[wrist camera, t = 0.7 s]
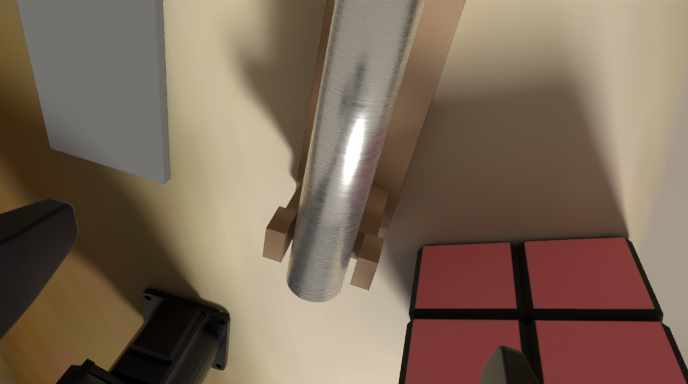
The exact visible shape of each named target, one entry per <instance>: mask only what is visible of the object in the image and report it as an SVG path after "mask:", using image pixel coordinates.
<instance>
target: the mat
mask: <svg viewBox="0 0 688 384" xmlns="http://www.w3.org/2000/svg"><path fill="white" fill-rule="evenodd" d="M17 3H18V8H19V12H20V16H21V21H22V25H23V29H24V34H25V38H26V43H27V47H28V51H29V56H30V60H31V65H32V69H33V73H34V78H35V82H36V87H37V91H38V95H39V100H40V104H41V108H42V113H43V117H44V122H45V126H46V130H47V135H48V139H49V144H50V148H51V149H54V150H57V151H60V152H63V153H66V154H70V155H73V156H76V157H79V158H82V159H86V160H89V161H92V162H95V163H98V164H102V165H105V166H108V167H111V168H114V169H118V170H121V171H124V172H127V173H130V174H134V175H137V176H140V177H143V178H146V179H150V180H153V181H156V182H159V183H162V184H165V183H166V182H167V181H168V180H169V179H170V160H169V136H168V113H167V89H166V66H165V42H164V19H163V0H17Z"/></svg>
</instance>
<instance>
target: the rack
mask: <svg viewBox="0 0 688 384" xmlns="http://www.w3.org/2000/svg"><path fill="white" fill-rule="evenodd" d="M465 1H466V0H425V3H424V6H423V10H422V13H421V17H420V20H419V24H418V27H417V30H416V34H415V37H414V41H413V44H412V48H411V51H410V54H409V58H408V61H407V65H406V68H405V72H404V75H403V78H402V82H401V85H400V89H399V92H398V96H397V99H396V103H395V106H394V109H393V113H392V116H391V120H390V123H389V127H388V130H387V133H386V137H385V140H384V144H383V147H382V151H381V154H380V157H379V161H378V164H377V168H376V171H375V175H374V178H373V182H372V185H371V188H370V192H369V195H368V199H367V202H366V206H365V209H364V212H363V216H362V219H361V223H360V226H359V230H358V233H357V236H356V240H355V243H354V247H353V250H352V254H351V257H350V258H354V259H357V263H356V266H355V270H354V273H353V276H352V280H351V283H350V285H354V286H357V287H360V288H363V289H366V290H369V288H370V285H371V282H372V280H373V277H374V274H375V271H376V268H377V265H378V262H379V258H380V254H381V250H382V246H383V242H384V239H383V238H380V237H377V236H378V232H379V228H380V226H381V227H384V228H387V229H388V226H389V223H390V220H391V217H392V214H393V211H394V209H395V206H396V203H397V200H398V197H399V194H400V191H401V188H402V185H403V182H404V179H405V176H406V174H407V171H408V168H409V165H410V162H411V159H412V156H413V153H414V150H415V147H416V144H417V141H418V138H419V136H420V133H421V130H422V127H423V124H424V121H425V118H426V115H427V112H428V109H429V106H430V103H431V101H432V98H433V95H434V92H435V89H436V86H437V83H438V80H439V77H440V74H441V71H442V68H443V66H444V63H445V60H446V57H447V54H448V51H449V48H450V45H451V42H452V39H453V36H454V33H455V31H456V28H457V25H458V22H459V19H460V16H461V13H462V10H463V7H464V4H465ZM334 5H335V0H327V5H326V11H325V17H324V23H323V29H322V35H321V41H320V47H319V53H318V59H317V65H316V71H315V77H314V83H313V89H312V95H311V101H310V107H309V113H308V119H307V125H306V131H305V137H304V143H303V149H302V155H301V161H300V167H299V173H298V179H297V185H296V191H295V193H294V195H293V197H292V199H291V200H290V202H289V204H288V206H287V207H286V208H283V207H280V206H279V207H278V209H277V211H276V213H275V214H274V216H273V218H272V219H271V221H270V223H269V224H268V226H267V228H266V234H265V242H264V250H263V257H266V258H269V259H272V260H275V261H278V262H281V261H282V259H283V257H284V255H285V253H286V251H287V249H288V247H289V245H290V243H291V241H292V239H293V237H294V231H295V226H296V220H297V214H298V209H299V203H300V197H301V192H302V186H303V180H304V175H305V169H306V163H307V158H308V152H309V147H310V141H311V135H312V130H313V124H314V118H315V113H316V107H317V101H318V96H319V90H320V84H321V79H322V73H323V67H324V62H325V56H326V50H327V45H328V39H329V33H330V28H331V22H332V16H333V11H334Z"/></svg>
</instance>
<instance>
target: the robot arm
mask: <svg viewBox="0 0 688 384" xmlns="http://www.w3.org/2000/svg"><path fill="white" fill-rule="evenodd" d="M78 236H79V229H78V224H77V220H76V215H75V210H74V207H73V206H72V205H71V204H70V203H68V202H65V201H62V200H59V199H55V198H49V199H46V200H42V201H39V202H36V203H33V204H30V205H27V206H24V207H21V208H18V209H14V210H11V211H8V212H5V213H2V214H0V340H1V339H2V338H3V337H4V335H5V334H6V333H7V332H8V331H9V330H10V329H11V328H12V326H13V325H14V324H15V323H16V322H17V321H18V320H19V318H20V317H21V316H22V315H23V314H24V313H25V311H26V310H27V309H28V308H29V307H30V306H31V304H32V303H33V302H34V300H35V299H36V298H37V297H38V295H39V294H40V293H41V291H42V290H43V288H44V287H45V286H46V284H47V283H48V281H49V280H50V279H51V277H52V276H53V274H54V273H55V272H56V270H57V269H58V267H59V266H60V265H61V263H62V262H63V260H64V259H65V258H66V256H67V255H68V253H69V252H70V251H71V249H72V248H73V246H74V245H75V243H76V242H77V240H78ZM141 298H142V307H143V316H144V323H143V325H142V326H141V327H140V329H139V330H138V331H137V333H136V334H135V335H134V337H133V338H132V339H131V341H130V342H129V343H128V345H127V346H126V347H125V349H124V350H123V351H122V353H121V354H120V356H119V357H118V358H117V360H116V361H115V362H114V364H113V365H112V366H111V368H110V369H109V370H108V371H106V370H104V369H102V368H100V367H99V366H97V365H95V362H93V361H91V360H89V359H87V360H86V361H85V362H84V363H83V364H82V365H80V366H77V365H71V366H70V367H69V368H68V370H67V371H66V372H65V373H64V374H63V376H62V377H61V378H60V379H59V380H58V382H57V383H56V384H202V383H203V381H204V379H205V377H206V375H207V373H208V372H209V370H210V368H211V367H212V368H215V369H218V370H224V369H225V367H226V365H227V358H228V345H229V331H230V318H229V316H227V315H226V314H224V313H221V312H218V311H215V310H212V309H209V308H206V307H203V306H200V305H197V304H194V303H191V302H188V301H185V300H182V299H179V298H176V297H173V296H170V295H166V294H163V293H160V292H157V291H154V290H151V289H146V290H145V291H144V292H143V293H142V295H141ZM479 384H539V382H538V380H537V378H536V376H535V375H534V373H533V371H532V369H531V367H530V365H529V364H528V362H527V360H526V358H525V356H524V355H523V353H522V352H520V351H519V350H516V349H513V348H510V347H507V346H504V345H500V346H498V347H497V348H496V350H495V351H494V353H493V354H492V355H491V357H490V358H489V360H488V361H487V362H486V364H485V365H484V367H483V369H482V372H481V375H480V381H479Z"/></svg>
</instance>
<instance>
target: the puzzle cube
mask: <svg viewBox="0 0 688 384" xmlns="http://www.w3.org/2000/svg"><path fill="white" fill-rule="evenodd" d="M409 316H410V320H411V321H410V322H409V323H408V324H407V329H406V336H405V343H404V350H403V357H402V364H401V371H400V377H399V384H479V381H480V375H481V372H482V369H483V367H484V365H485V364H486V362H487V361H488V360H489V358H490V357H491V355H492V354H493V353H494V351H495V350H496V348H497V347H498V346H500V345H504V346H507V347H510V348H513V349H516V350H519V351H520V352H522V353H523V355H524V356H525V358H526V360H527V362H528V364H529V365H530V367H531V369H532V371H533V373H534V375H535V376H536V378H537V380H538V382H539V384H688V369H687V367H686V365H685V363H684V360H683V358H682V356H681V353H680V351H679V349H678V347H677V344H676V342H675V340H674V338H673V335H672V333H671V330H670V328H669V327H667V326H666V325H664V324H663V323H662V320H663V312H662V310H661V308H660V305H659V303H658V301H657V298H656V296H655V294H654V292H653V289H652V287H651V285H650V283H649V280H648V278H647V276H646V273H645V271H644V269H643V267H642V264H641V262H640V260H639V258H638V255H637V253H636V251H635V248H634V246H633V244H632V242H631V241H629V240H628V239H626V238H625V237H619V238H597V239H574V240H551V241H529V242H523V243H522V244H520V245H519V246H518V247H517V246H515V245H513V244H512V243H510V242H506V243H484V244H461V245H438V246H423V247H422V248H421V249H420V250H418V254H417V261H416V268H415V275H414V282H413V288H412V295H411V302H410V309H409Z"/></svg>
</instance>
